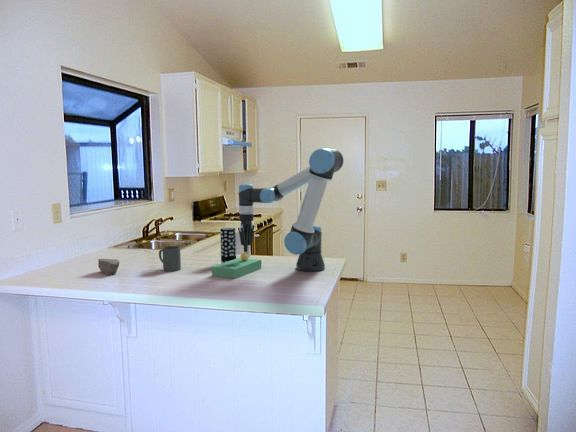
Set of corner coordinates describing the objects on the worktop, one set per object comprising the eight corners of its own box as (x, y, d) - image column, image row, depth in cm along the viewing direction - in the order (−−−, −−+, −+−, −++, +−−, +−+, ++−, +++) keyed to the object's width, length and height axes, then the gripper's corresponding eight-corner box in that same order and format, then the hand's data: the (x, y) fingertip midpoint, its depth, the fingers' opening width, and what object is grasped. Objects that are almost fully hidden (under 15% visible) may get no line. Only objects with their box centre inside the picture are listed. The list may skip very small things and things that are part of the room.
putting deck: (261, 268, 245) (261, 259, 244) (235, 278, 223) (235, 269, 222) (239, 266, 251) (239, 257, 251) (212, 275, 229) (211, 266, 228)
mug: (184, 268, 245) (183, 246, 244) (172, 272, 237) (171, 249, 236) (165, 266, 252) (165, 244, 251) (153, 269, 244) (152, 247, 243)
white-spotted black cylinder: (233, 266, 251) (232, 229, 249) (219, 265, 253) (218, 229, 251) (238, 262, 259) (237, 227, 257) (224, 262, 261) (223, 227, 259)
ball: (250, 258, 244) (248, 252, 242) (246, 262, 240) (244, 255, 239) (243, 258, 245) (242, 251, 244) (239, 261, 242) (238, 255, 241)
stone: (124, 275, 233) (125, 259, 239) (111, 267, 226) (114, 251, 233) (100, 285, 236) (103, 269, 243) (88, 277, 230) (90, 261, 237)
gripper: (246, 212, 250) (247, 254, 252) (233, 214, 238) (234, 258, 241) (258, 212, 246) (259, 255, 249) (245, 214, 235) (246, 260, 237)
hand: (246, 257), depth 245 cm, fingers closed
